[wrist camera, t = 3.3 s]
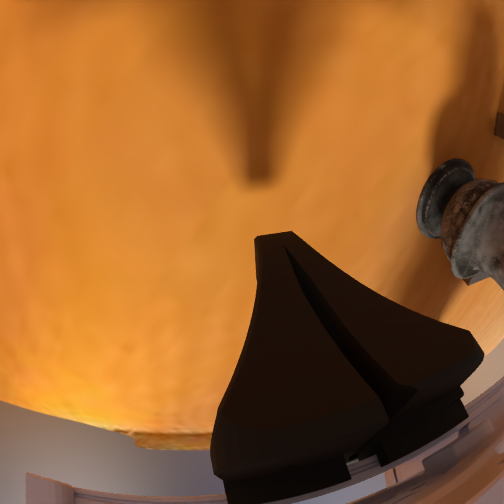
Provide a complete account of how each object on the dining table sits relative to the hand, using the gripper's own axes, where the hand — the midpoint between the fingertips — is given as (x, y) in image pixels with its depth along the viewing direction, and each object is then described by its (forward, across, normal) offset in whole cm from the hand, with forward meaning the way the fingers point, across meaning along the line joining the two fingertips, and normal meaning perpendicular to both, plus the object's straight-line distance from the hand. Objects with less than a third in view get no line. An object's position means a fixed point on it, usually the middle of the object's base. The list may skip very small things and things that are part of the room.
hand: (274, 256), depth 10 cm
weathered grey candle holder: (+3, -11, 0) cm, 11 cm away
